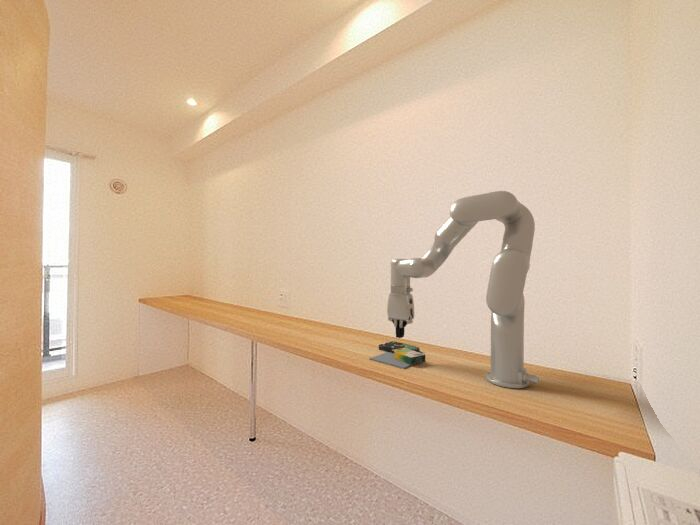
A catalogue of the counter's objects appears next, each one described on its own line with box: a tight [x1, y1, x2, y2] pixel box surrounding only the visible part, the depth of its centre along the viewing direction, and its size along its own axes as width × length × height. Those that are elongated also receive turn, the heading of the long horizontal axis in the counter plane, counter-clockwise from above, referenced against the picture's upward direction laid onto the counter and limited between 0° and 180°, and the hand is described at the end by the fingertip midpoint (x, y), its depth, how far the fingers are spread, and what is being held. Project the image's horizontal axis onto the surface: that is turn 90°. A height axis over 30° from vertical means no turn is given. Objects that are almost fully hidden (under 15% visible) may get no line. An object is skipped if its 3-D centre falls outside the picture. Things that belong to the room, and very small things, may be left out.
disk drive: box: [378, 340, 421, 354], centre depth 134 cm, size 10×3×15 cm
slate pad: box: [369, 351, 415, 370], centre depth 120 cm, size 16×12×1 cm
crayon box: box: [392, 348, 426, 366], centre depth 119 cm, size 7×3×12 cm
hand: (399, 337), depth 120 cm, fingers closed
